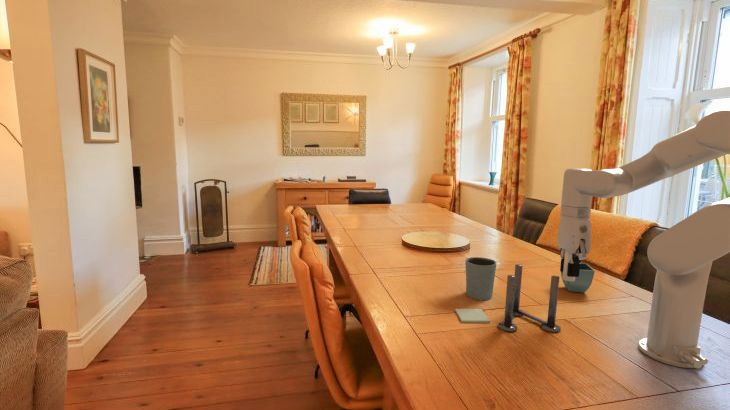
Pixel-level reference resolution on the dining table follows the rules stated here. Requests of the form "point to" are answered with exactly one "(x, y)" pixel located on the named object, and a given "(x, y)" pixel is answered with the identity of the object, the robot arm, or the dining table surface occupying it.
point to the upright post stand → (514, 310)
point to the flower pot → (580, 279)
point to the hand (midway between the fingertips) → (569, 273)
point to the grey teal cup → (480, 277)
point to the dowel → (566, 261)
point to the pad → (472, 315)
